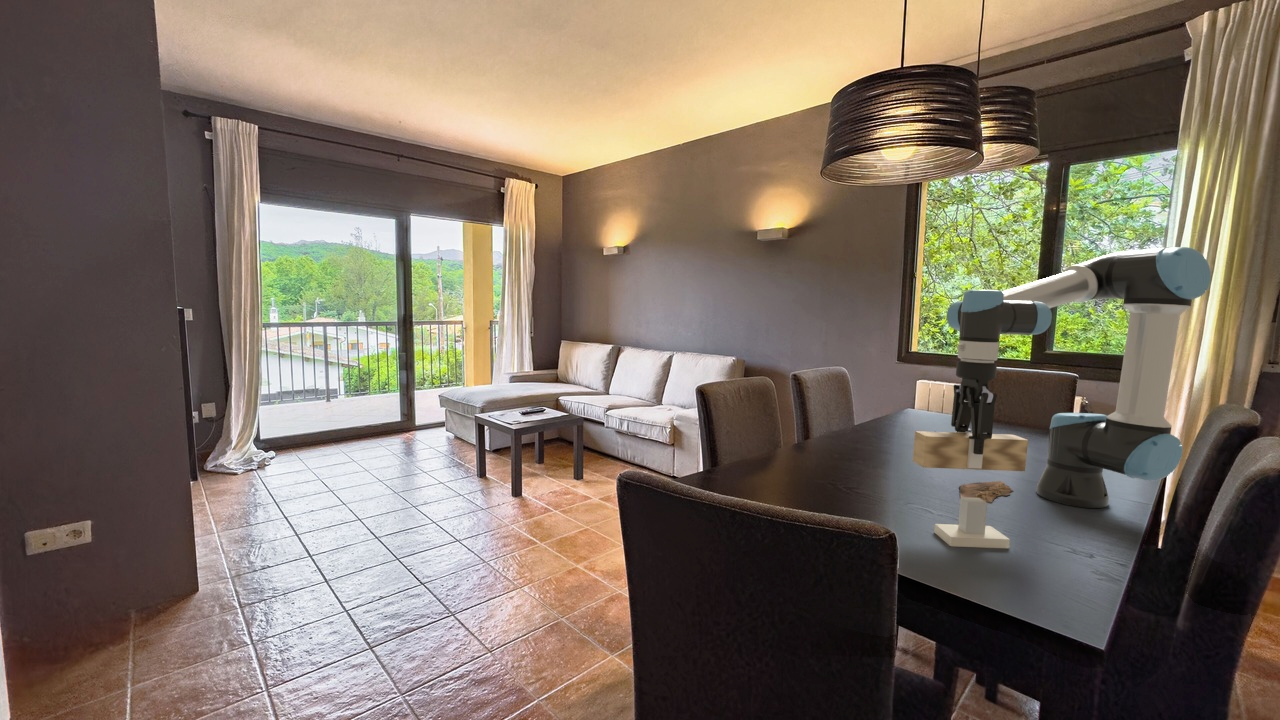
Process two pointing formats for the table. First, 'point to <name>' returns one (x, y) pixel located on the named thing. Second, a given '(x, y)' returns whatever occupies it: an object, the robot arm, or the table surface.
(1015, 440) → the batten
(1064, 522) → the table surface
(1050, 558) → the table surface
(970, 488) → the wooden fragment
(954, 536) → the stand
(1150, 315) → the robot arm
